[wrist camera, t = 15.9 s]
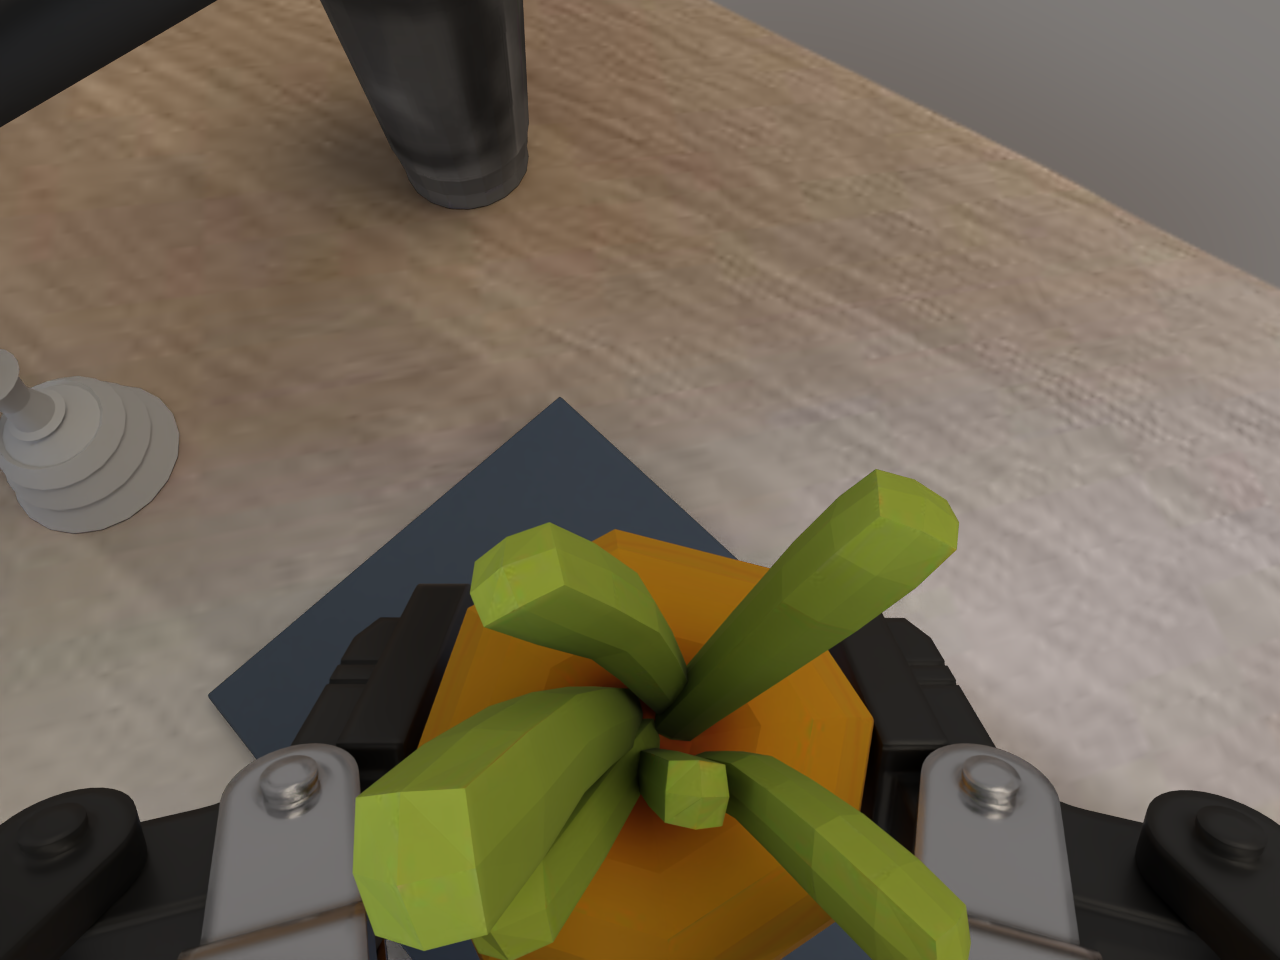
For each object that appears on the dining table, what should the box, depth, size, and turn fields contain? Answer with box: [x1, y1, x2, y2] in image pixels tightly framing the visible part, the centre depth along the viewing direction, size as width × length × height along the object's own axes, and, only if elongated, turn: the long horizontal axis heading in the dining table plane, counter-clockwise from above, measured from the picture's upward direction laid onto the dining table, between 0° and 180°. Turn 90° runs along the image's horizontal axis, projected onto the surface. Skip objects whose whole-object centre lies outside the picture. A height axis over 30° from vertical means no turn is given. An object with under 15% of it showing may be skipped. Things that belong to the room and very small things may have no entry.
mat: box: [208, 397, 872, 960], centre depth 22 cm, size 20×13×1 cm, turn 45°
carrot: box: [353, 469, 971, 960], centre depth 11 cm, size 5×5×15 cm
